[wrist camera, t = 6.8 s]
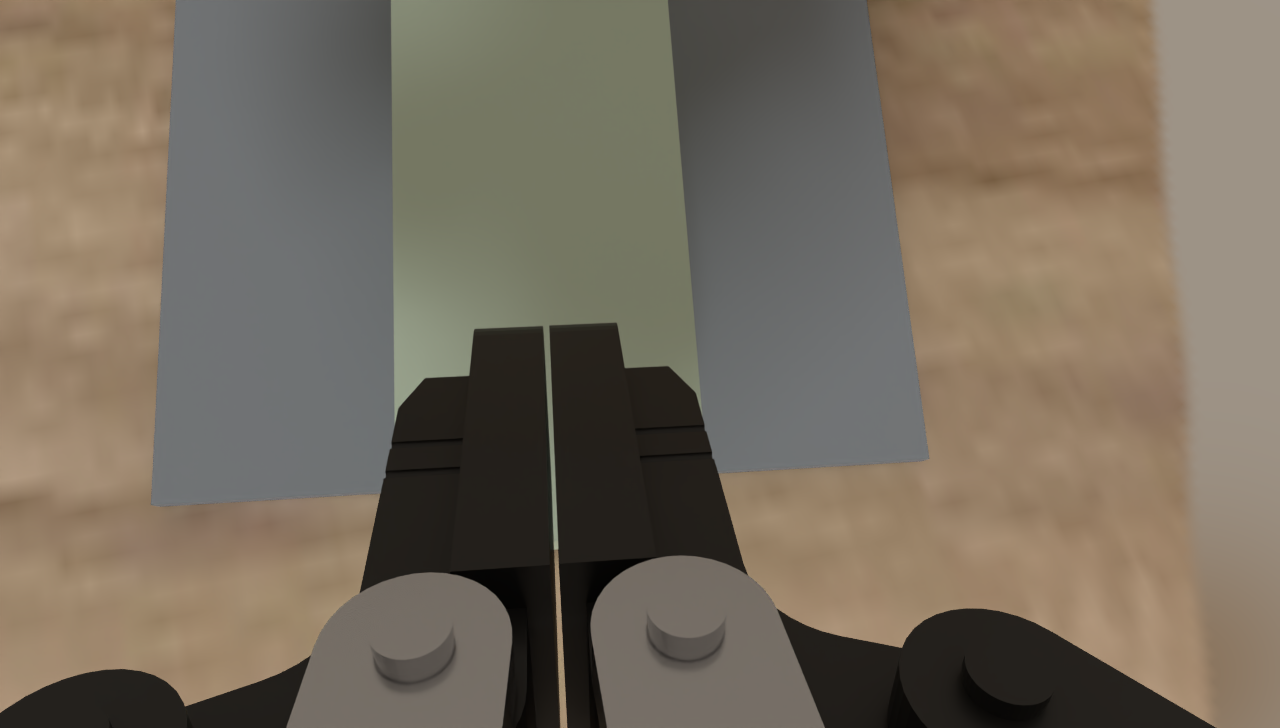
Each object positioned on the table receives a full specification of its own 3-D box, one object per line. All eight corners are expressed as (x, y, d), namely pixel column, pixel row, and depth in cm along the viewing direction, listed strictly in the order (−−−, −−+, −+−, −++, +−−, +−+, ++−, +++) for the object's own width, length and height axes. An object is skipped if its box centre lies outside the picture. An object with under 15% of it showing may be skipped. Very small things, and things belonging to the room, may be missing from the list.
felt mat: (189, -125, 20) (182, -138, 20) (843, -123, 22) (847, -136, 21) (160, 506, 17) (151, 504, 17) (921, 461, 19) (929, 458, 18)
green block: (438, 556, 17) (427, -48, 20) (675, 541, 18) (631, -49, 20) (395, 551, 13) (388, -221, 16) (711, 530, 13) (649, -218, 16)
